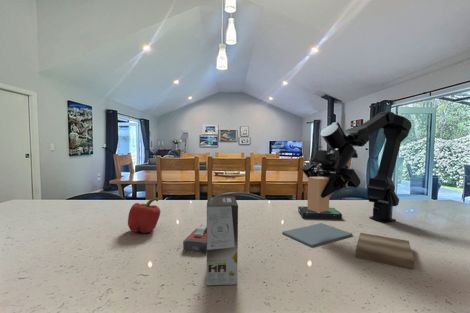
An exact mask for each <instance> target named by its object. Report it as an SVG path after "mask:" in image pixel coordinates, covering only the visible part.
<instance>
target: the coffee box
mask: <svg viewBox="0 0 470 313" xmlns="http://www.w3.org/2000/svg"><path fill="white" fill-rule="evenodd" d="M206 225H207V252H206V285H207V286H227V285H230V286H231V285H232V286H233V285H237V284H238V255H239V254H238V251H239V250H238V249H239V248H238V247H239V245H238V244H239V239H238V238H239V204H238V201H237V199H236V196H209V197H207V202H206Z"/></svg>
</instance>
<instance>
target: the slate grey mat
mask: <svg viewBox="0 0 470 313" xmlns="http://www.w3.org/2000/svg"><path fill="white" fill-rule="evenodd" d="M281 233H282V235H284V236H287V237H289V238H291V239H293V240H296V241H297V242H299V243H302V244H304V245H305V246H308V247H310V248H313V247H316V246H317V247H318V246H320V245H323V244H326V243H327V244H328V243H331V242H334V241H338V240H342V239H345V238H348V237H352V236H353V233H352V232H349V231H347V230H344V229H340V228H336V227H334V226H331V225H328V224H326V223H323V222H321V223H316V224H312V225H308V226H307V225H306V226H302V227H297V228H292V229H288V230H284V231H282V232H281Z"/></svg>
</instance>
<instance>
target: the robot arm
mask: <svg viewBox="0 0 470 313" xmlns="http://www.w3.org/2000/svg"><path fill="white" fill-rule="evenodd" d="M381 129H382V130H383V135H384V138H385V143H384V146H383V150H382V155H381V158H380V160H379V165H378V170H377V172H376V173H377V174H376V175H375V176H374V177H370V178H369V179H368V183H367V186H366V194H367V198H368V202H369V203H373V207H372V215H371V216H369V219H371V220H374V221H379V222H381V223H391V222H396V221H397V219H396V218H393V207H397V206H399V203H400V199H399V197H398V195H397V194H396V192H395V188H396V187H395V183H394V180H393V176H394V171H395V167H396V164H397V159H398V155H399V151H400V148H401V144H402V142H404V140H405V139H406V138H407V137H408V136H409V134H410V130H411V129H412V122H411V121H410V120H409V119H408V118H406V117H405V116H403V115H398V114H397V113H394V112H393V111H381V112H378V113H377V114H376V115H375V116H372V117H371V118H370V119H368V120H367V121H365V122H363V123H362V124H361V125H358V126H355V127H351V128H347V129H342V127H341V124H340V123H339V122H337V121H335V122H331V124H329V125H327V126H326V127H325V128H323V129H321V131H320V137H322V139H323V140H324V142H325V143H326V145H327V146H328V148H330V149H331V150H325V149H324V150H323V149H315V151H314V154H313V157H312V160H313V161H316V162H317V163H318V166H319V167H320V168H321V169H319V168H318V167H317V166H316V165H315V164H304V165H303V166H302V167H301V171H302V172H303V174H304V175H305V176H306V178H307V179H308V177H317V176H319V177H326V178H329V182H328V183H327V185H326V187H325V188H324V190H323V192H322V194H321V197H322V198H324V197H326V196H328V195H329V196H330V195H332V194H333V193H335V192H337V191H339V190H342V189H347V186H348V187H349V188H352V189H353V188H354V189H358V188H359V186H360V184H361V178H360V177H359V176H358V174H357V173H356V171H355V169H354V168H349V166H348V164H349V163H350V161H351V160H352V159H358V157H359V155H358V154H359V153H357V149H355V147H364V146H365V145H366V144H367V143H369V141H370V140H371V139H370V137H371V136H372V135H373V134H374V133H375V134H376V132H377V131H379V130H381Z"/></svg>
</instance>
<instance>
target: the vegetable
mask: <svg viewBox="0 0 470 313" xmlns="http://www.w3.org/2000/svg"><path fill="white" fill-rule="evenodd" d="M159 200H160V199H159V197H153V198H150V199H149V200H148V201H147V202H146V203H139V202H136V203H135V202H134V203H133V204H132V206H131V207H130V209H129V212H128V218H127V226H128V228H129V230H130V231H131V232H141V234H148V233H151V232H153V231H154V230H155V228H156V226H157V224H158V221H159V219H160V215H161V209H160V207H159V206H158V205H154V204H153V205H151V204H152V203H153V202H155V201H156V202H159Z"/></svg>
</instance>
